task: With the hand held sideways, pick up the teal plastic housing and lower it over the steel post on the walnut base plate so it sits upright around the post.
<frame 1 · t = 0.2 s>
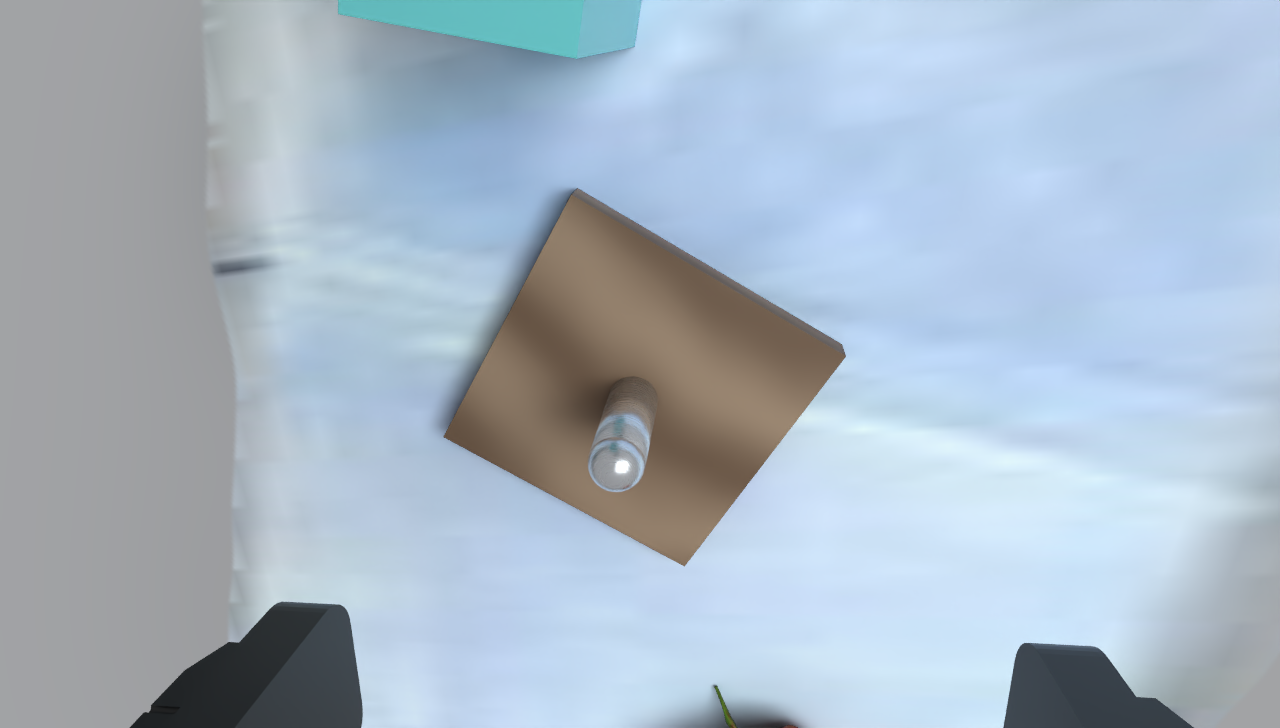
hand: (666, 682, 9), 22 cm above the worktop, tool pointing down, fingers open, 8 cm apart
post: (624, 434, 28), on the base plate, point 4 cm above the worktop
base plate: (636, 386, 32), on the worktop
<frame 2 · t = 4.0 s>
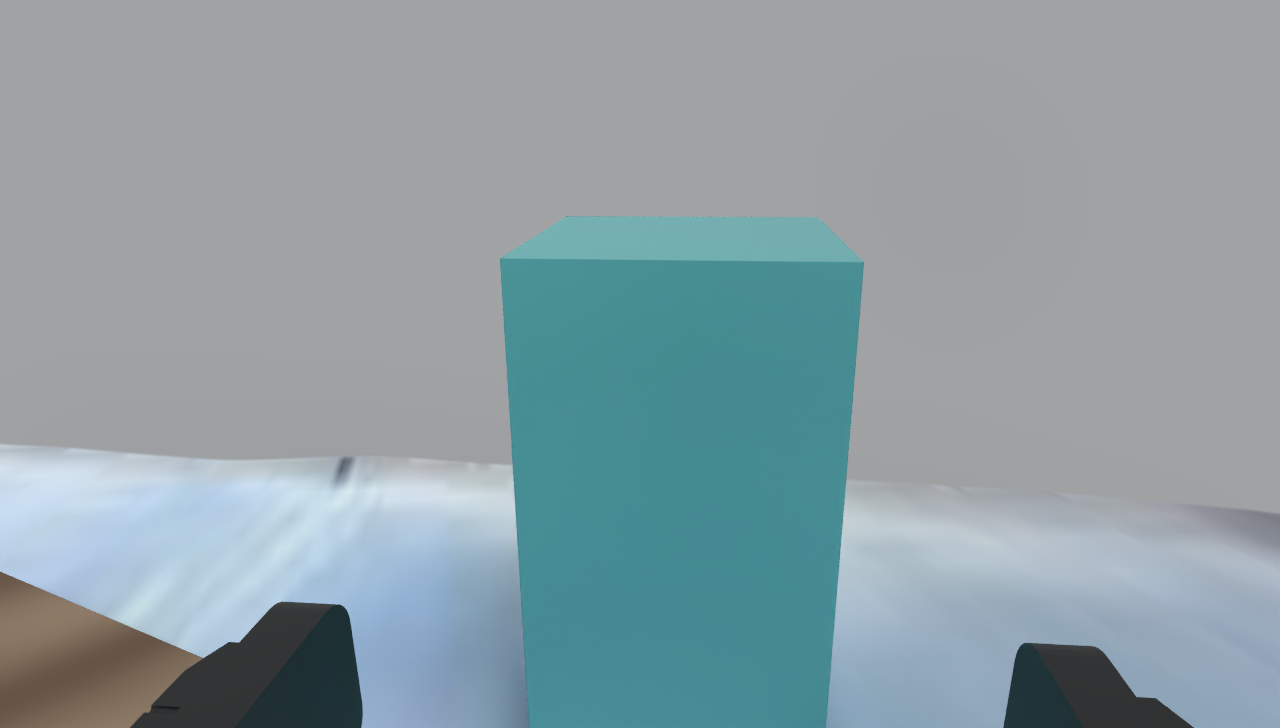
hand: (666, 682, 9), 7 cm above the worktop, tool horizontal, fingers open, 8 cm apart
housing: (679, 725, 17), on the worktop
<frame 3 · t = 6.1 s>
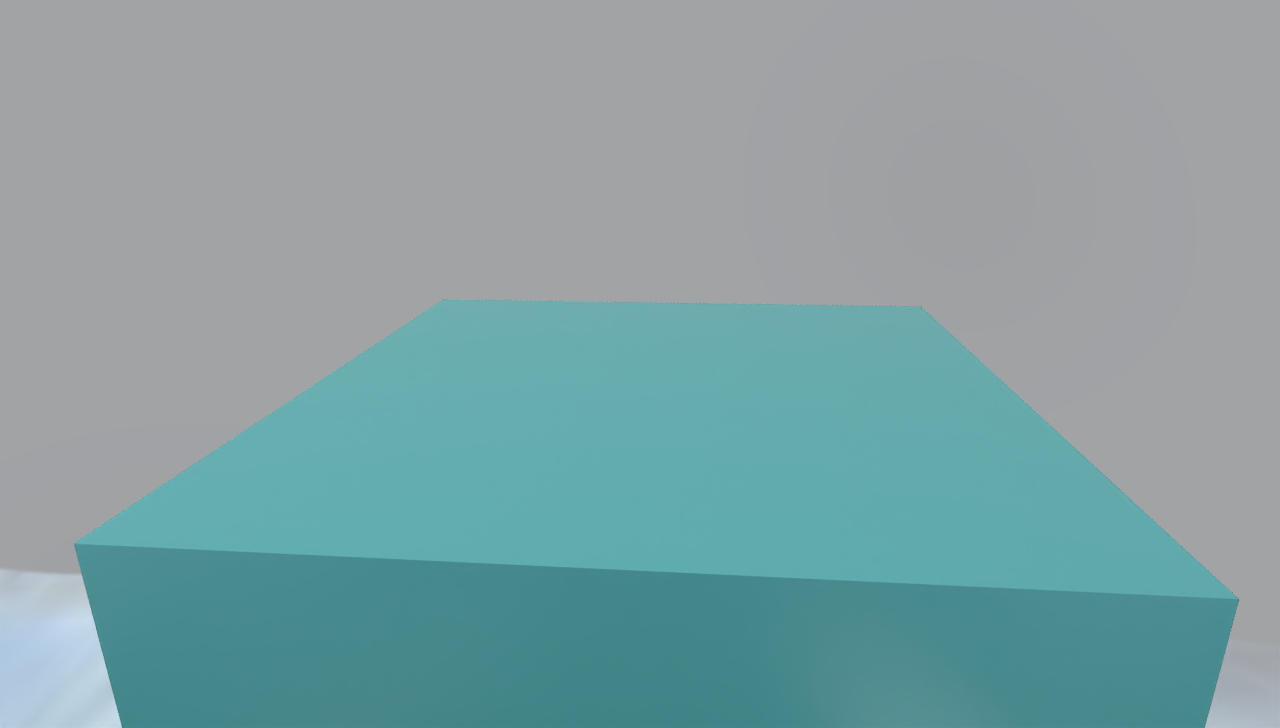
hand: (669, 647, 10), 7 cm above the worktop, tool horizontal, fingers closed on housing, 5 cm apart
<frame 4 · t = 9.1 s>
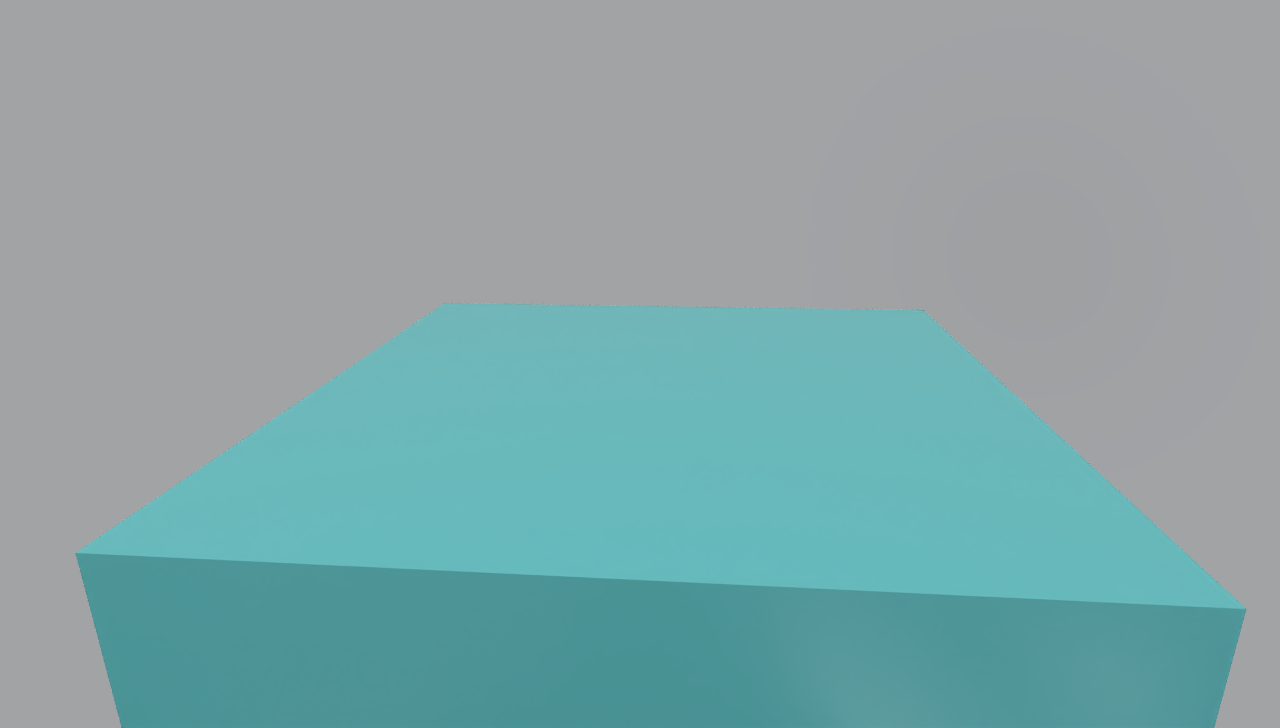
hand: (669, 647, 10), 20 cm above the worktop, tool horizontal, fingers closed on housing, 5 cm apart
when the fingers open (9 cm above the worktop, at t = 12.2 s): housing drops 1 cm, resting on base plate.
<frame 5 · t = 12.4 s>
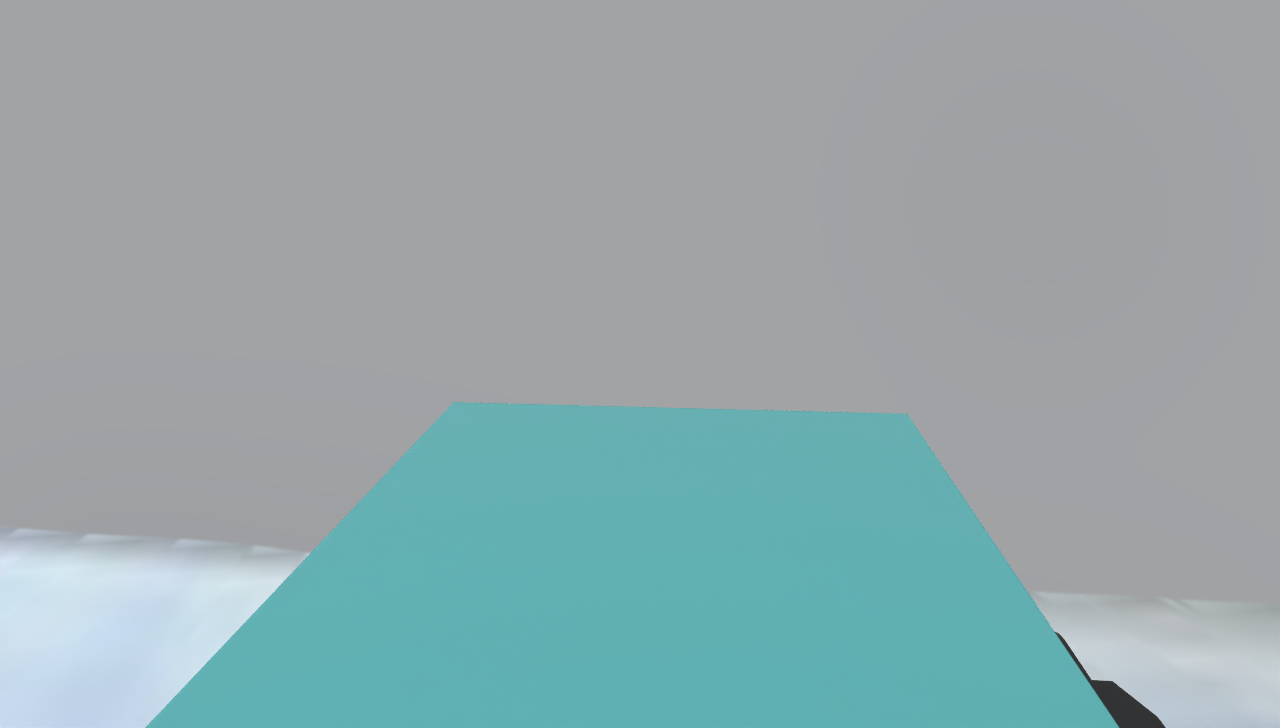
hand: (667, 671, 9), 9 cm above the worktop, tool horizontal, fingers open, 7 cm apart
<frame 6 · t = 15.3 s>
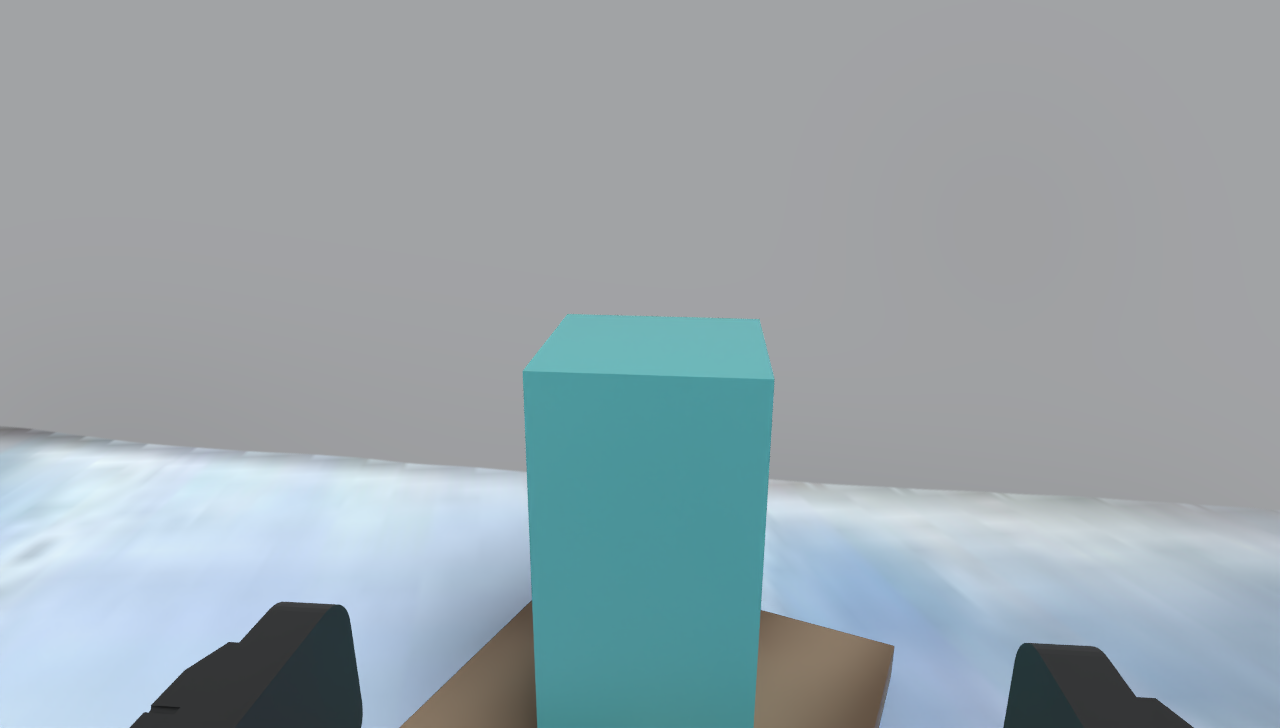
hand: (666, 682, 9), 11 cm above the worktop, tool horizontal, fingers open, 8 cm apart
housing: (651, 708, 22), point 1 cm above the worktop, touching base plate
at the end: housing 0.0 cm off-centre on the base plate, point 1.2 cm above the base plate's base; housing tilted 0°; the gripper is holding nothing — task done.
